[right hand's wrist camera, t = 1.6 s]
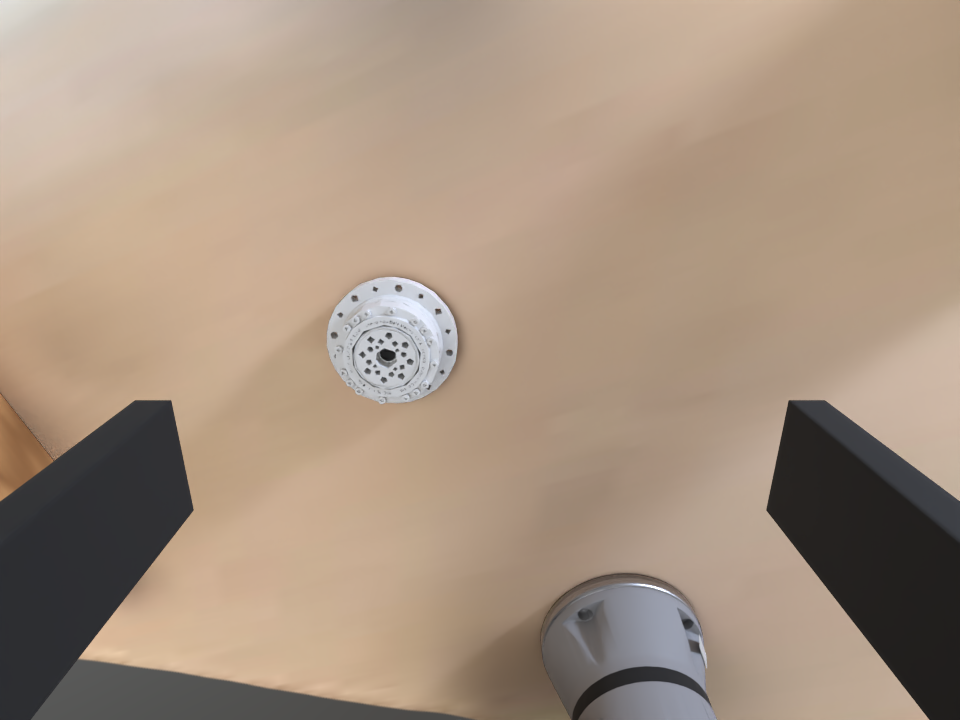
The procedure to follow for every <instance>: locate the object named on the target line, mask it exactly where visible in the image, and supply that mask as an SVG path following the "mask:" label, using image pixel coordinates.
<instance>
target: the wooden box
mask: <svg viewBox="0 0 960 720" xmlns="http://www.w3.org/2000/svg"><path fill="white" fill-rule="evenodd" d="M52 462H54V461H53V459H52V458H51V457H50V456H49V454H48V453H47V452H46V451H45V449H44V448H43V447H42V446H41V444H40V443H39V442H38V441H37V439H36V438H35V437H34V435H33V434H32V433H31V432H30V430H29V429H28V428H27V427H26V425H25V424H24V423H23V422H22V420H21V419H20V418H19V416H18V415H17V414H16V413H15V411H14V410H13V409H12V408H11V406H10V405H9V404H8V403H7V401H6V400H5V399H4V397H3V396H2V395H1V394H0V501H1V500H3V499H4V498H5V497H7V496H8V495H10V494H11V493H12V492H14V491H15V490H16V489H18V488H19V487H20V486H22V485H23V484H24V483H26V482H27V481H28V480H30V479H31V478H32V477H34V476H35V475H36V474H38V473H39V472H40V471H42V470H43V469H44V468H46V467H47V466H48V465H50V464H51V463H52Z"/></svg>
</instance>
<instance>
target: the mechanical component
mask: <svg viewBox="0 0 960 720" xmlns="http://www.w3.org/2000/svg"><path fill="white" fill-rule="evenodd" d="M397 285H401V287H402V288H398V287H397ZM420 294H423V295H420ZM354 295H357V297H358V299H357V298H355V297H354ZM439 308H440V309H441V310H440V311H437V310H436V309H439ZM335 332H337V334H335ZM457 346H458V337H457V328H456V324H455V321H454V317H453V316H452V314H451V312H450V310H449V308H448V307H447V306H446V304H445V303H444V302H443V301H442V300H441V299H440V298H439V297H438V296H437V294H436V293H435V292H433V291H431V290H430V289H428V288H427V287H425V286H423V285H422V284H420V283H417V282H415V281H412V280H409V279H405V278H398V277H383V278H377V279H374V280H370V281H367V282H364V283H361V284H359V285H358V286H357V287H355V288H354V289H353V290H352V291H351V292H349V293H348V294H347V295H346V296H344V298H343V299H342V300H341V301H340V302H339V304H338V305H337V306H336V308H335V310H334V312H333V314H332V316H331V318H330V321H329V325H328V330H327V348H328V352H329V356H330V359H331V361H332V364H333V366H334V368H335V370H336V371H337V372H338V374H339V375H340V376H341V378H342V379H343V380H344V381H345V382H346V385H347V386H348V387H351V388H353V389H354V390H355V393H356V394H357V395H362V396H364V397H366V398H369V399H372V400H375V401H378V402H379V403H380V404H384V403H385V402H386V403H403V402H411V401H414V400H417V399H420V398H423V397H425V396H426V395H428V394H430V393H431V392H433V391H434V390H436V389H437V388H438V387H439V386H440V385H441V384H442V383H443V382H444V380H445V379H446V378H447V377H448V375H449V373H450V371H451V369H452V367H453V365H454V363H455V361H456V354H457ZM448 350H452V352H451V351H448Z"/></svg>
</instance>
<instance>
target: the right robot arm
mask: <svg viewBox="0 0 960 720" xmlns="http://www.w3.org/2000/svg"><path fill="white" fill-rule="evenodd" d="M192 512H193V505H192V500H191V495H190V490H189V485H188V480H187V475H186V470H185V466H184V461H183V456H182V451H181V446H180V441H179V436H178V431H177V426H176V422H175V417H174V412H173V407H172V402H171V400H135V401H134V402H132V403H131V404H130V405H128V406H127V407H126V408H124V409H123V410H122V411H120V412H119V413H118V414H116V415H115V416H114V417H112V418H111V419H110V420H108V421H107V422H106V423H104V424H103V425H102V426H100V427H99V428H98V429H96V430H95V431H94V432H92V433H91V434H90V435H88V436H87V437H86V438H84V439H83V440H82V441H80V442H79V443H78V444H76V445H75V446H74V447H72V448H71V449H70V450H68V451H67V452H66V453H64V454H63V455H62V456H60V457H59V458H58V459H56V460H55V461H54V462H52V463H51V464H50V465H48V466H47V467H46V468H44V469H43V470H42V471H40V472H39V473H38V474H36V475H35V476H34V477H32V478H31V479H30V480H28V481H27V482H26V483H24V484H23V485H22V486H20V487H19V488H18V489H16V490H15V491H14V492H12V493H11V494H10V495H8V496H7V497H5V498H4V499H3V500H1V501H0V720H31V718H32V717H33V716H34V715H35V713H36V712H37V711H38V709H39V708H40V707H41V706H42V704H43V703H44V702H45V700H46V699H47V698H48V697H49V695H50V694H51V693H52V691H53V690H54V689H55V688H56V686H57V685H58V684H59V682H60V681H61V680H62V679H63V677H64V676H65V675H66V673H67V672H68V671H69V670H70V668H71V667H72V666H73V664H74V663H75V662H76V661H77V659H78V658H79V657H80V655H81V654H82V653H83V652H84V650H85V649H86V648H87V646H88V645H89V644H90V643H91V641H92V640H93V639H94V638H95V636H96V635H97V634H98V632H99V631H100V630H101V629H102V627H103V626H104V625H105V623H106V622H107V621H108V620H109V618H110V617H111V616H112V614H113V613H114V612H115V611H116V609H117V608H118V607H119V605H120V604H121V603H122V602H123V600H124V599H125V598H126V596H127V595H128V594H129V593H130V591H131V590H132V589H133V587H134V586H135V585H136V584H137V582H138V581H139V580H140V578H141V577H142V576H143V575H144V573H145V572H146V571H147V569H148V568H149V567H150V566H151V564H152V563H153V562H154V560H155V559H156V558H157V557H158V555H159V554H160V553H161V551H162V550H163V549H164V548H165V546H166V545H167V544H168V542H169V541H170V540H171V539H172V537H173V536H174V535H175V533H176V532H177V531H178V530H179V528H180V527H181V526H182V524H183V523H184V522H185V521H186V519H187V518H188V517H189V515H190V514H191V513H192ZM767 512H768V513H769V514H770V515H771V517H772V518H773V519H774V521H775V522H776V523H777V524H778V526H779V527H780V528H781V530H782V531H783V532H784V533H785V535H786V536H787V537H788V539H789V540H790V541H791V542H792V544H793V545H794V546H795V548H796V549H797V550H798V551H799V553H800V554H801V555H802V557H803V558H804V559H805V560H806V562H807V563H808V564H809V566H810V567H811V568H812V569H813V571H814V572H815V573H816V575H817V576H818V577H819V578H820V580H821V581H822V582H823V584H824V585H825V586H826V587H827V589H828V590H829V591H830V593H831V594H832V595H833V596H834V598H835V599H836V600H837V602H838V603H839V604H840V605H841V607H842V608H843V609H844V611H845V612H846V613H847V614H848V616H849V617H850V618H851V620H852V621H853V622H854V623H855V625H856V626H857V627H858V629H859V630H860V631H861V632H862V634H863V635H864V636H865V638H866V639H867V640H868V641H869V643H870V644H871V645H872V646H873V648H874V649H875V650H876V652H877V653H878V654H879V655H880V657H881V658H882V659H883V661H884V662H885V663H886V664H887V666H888V667H889V668H890V670H891V671H892V672H893V673H894V675H895V676H896V677H897V679H898V680H899V681H900V682H901V684H902V685H903V686H904V688H905V689H906V690H907V691H908V693H909V694H910V695H911V697H912V698H913V699H914V700H915V702H916V703H917V704H918V706H919V707H920V708H921V709H922V711H923V712H924V713H925V715H926V716H927V717H928V718H929V720H960V501H959V500H957V499H956V498H955V497H953V496H952V495H950V494H949V493H948V492H946V491H945V490H944V489H942V488H941V487H940V486H938V485H937V484H936V483H934V482H933V481H932V480H930V479H929V478H928V477H926V476H925V475H924V474H922V473H921V472H920V471H918V470H917V469H916V468H914V467H913V466H912V465H910V464H909V463H908V462H906V461H905V460H904V459H902V458H901V457H900V456H898V455H897V454H896V453H894V452H893V451H892V450H890V449H889V448H888V447H886V446H885V445H884V444H882V443H881V442H880V441H878V440H877V439H876V438H874V437H873V436H872V435H870V434H869V433H868V432H866V431H865V430H864V429H862V428H861V427H860V426H858V425H857V424H856V423H854V422H853V421H852V420H850V419H849V418H848V417H846V416H845V415H844V414H842V413H841V412H840V411H838V410H837V409H836V408H834V407H833V406H832V405H830V404H829V403H828V402H826V401H825V400H789V402H788V407H787V412H786V417H785V422H784V426H783V431H782V436H781V441H780V446H779V451H778V456H777V461H776V466H775V470H774V475H773V480H772V485H771V490H770V495H769V500H768V505H767ZM541 648H542V657H543V662H544V666H545V668H546V671H547V673H548V676H549V678H550V680H551V681H552V683H553V685H554V687H555V689H556V691H557V693H558V695H559V697H560V699H561V701H562V703H563V705H564V707H565V708H566V710H567V712H568V714H569V716H570V718H571V720H717V718H716V716H715V714H714V711H713V709H712V707H711V704H710V702H709V699H708V696H707V694H706V682H705V664H706V667H707V658H706V653H705V650H704V641H703V634H702V630H701V626H700V624H699V621H698V619H697V617H696V615H695V612H694V610H693V608H692V606H691V605H690V603H689V602H688V600H687V599H686V598H685V597H684V596H683V595H682V594H681V593H680V592H679V591H678V590H676V589H675V588H674V587H672V586H670V585H669V584H667V583H665V582H662V581H660V580H658V579H655V578H651V577H647V576H642V575H634V574H617V575H609V576H604V577H600V578H596V579H593V580H590V581H587V582H585V583H583V584H580V585H579V586H577V587H575V588H573V589H572V590H570V591H569V592H567V593H566V594H565V595H563V596H562V597H561V598H560V599H559V600H558V601H557V602H556V603H555V604H554V605H553V606H552V608H551V609H550V611H549V612H548V614H547V616H546V618H545V620H544V623H543V626H542V630H541Z"/></svg>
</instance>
